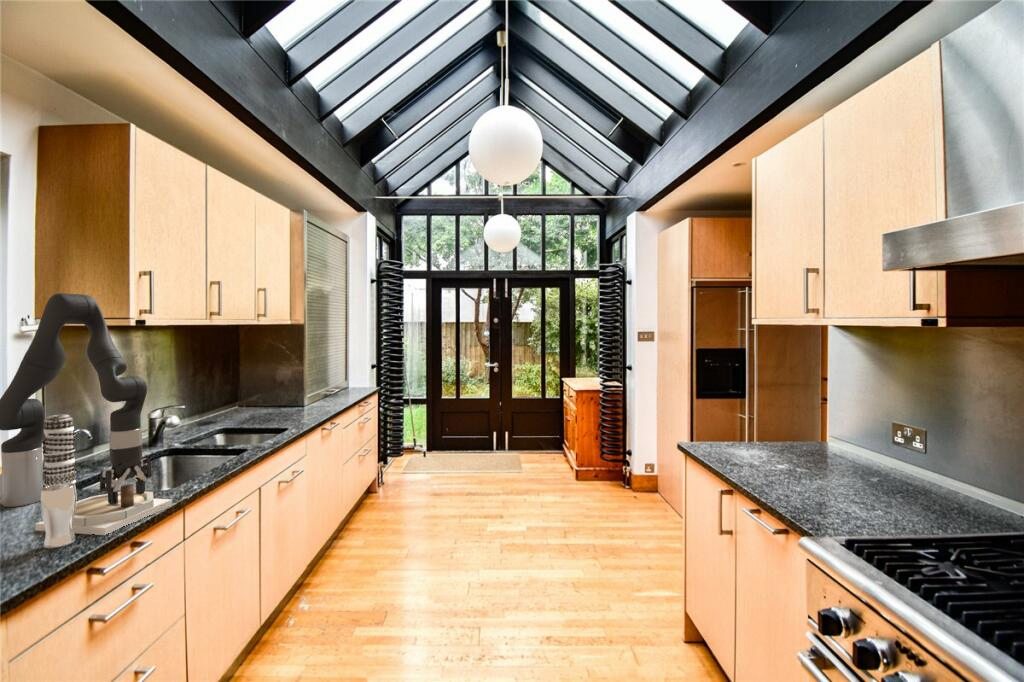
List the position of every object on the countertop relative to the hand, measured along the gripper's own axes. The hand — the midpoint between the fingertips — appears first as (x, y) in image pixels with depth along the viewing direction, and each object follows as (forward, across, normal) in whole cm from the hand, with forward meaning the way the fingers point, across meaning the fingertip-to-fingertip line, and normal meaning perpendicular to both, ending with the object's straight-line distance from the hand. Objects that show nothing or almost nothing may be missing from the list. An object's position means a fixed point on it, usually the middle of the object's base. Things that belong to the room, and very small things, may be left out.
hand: (127, 498), depth 142 cm
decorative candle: (+6, -24, -52) cm, 58 cm away
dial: (+4, 0, -7) cm, 7 cm away
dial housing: (+6, 0, -6) cm, 9 cm away
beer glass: (+6, +17, -3) cm, 18 cm away
